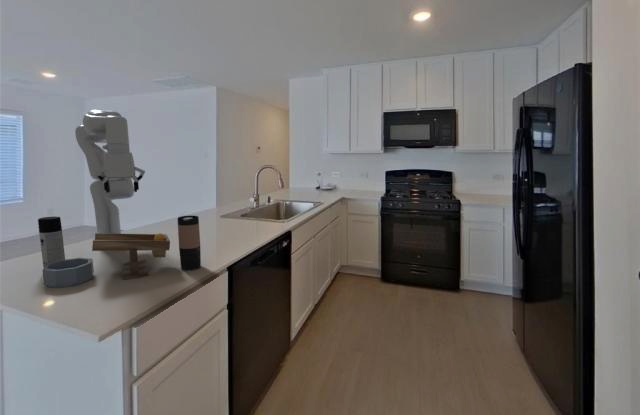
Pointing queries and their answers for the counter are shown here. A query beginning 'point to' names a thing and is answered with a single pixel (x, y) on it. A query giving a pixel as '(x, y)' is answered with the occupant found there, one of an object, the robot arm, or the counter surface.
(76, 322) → the counter surface
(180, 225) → the travel mug
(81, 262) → the octagonal bowl
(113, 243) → the lever tray
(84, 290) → the counter surface
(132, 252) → the pivot stand
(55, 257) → the spray can
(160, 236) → the ball
